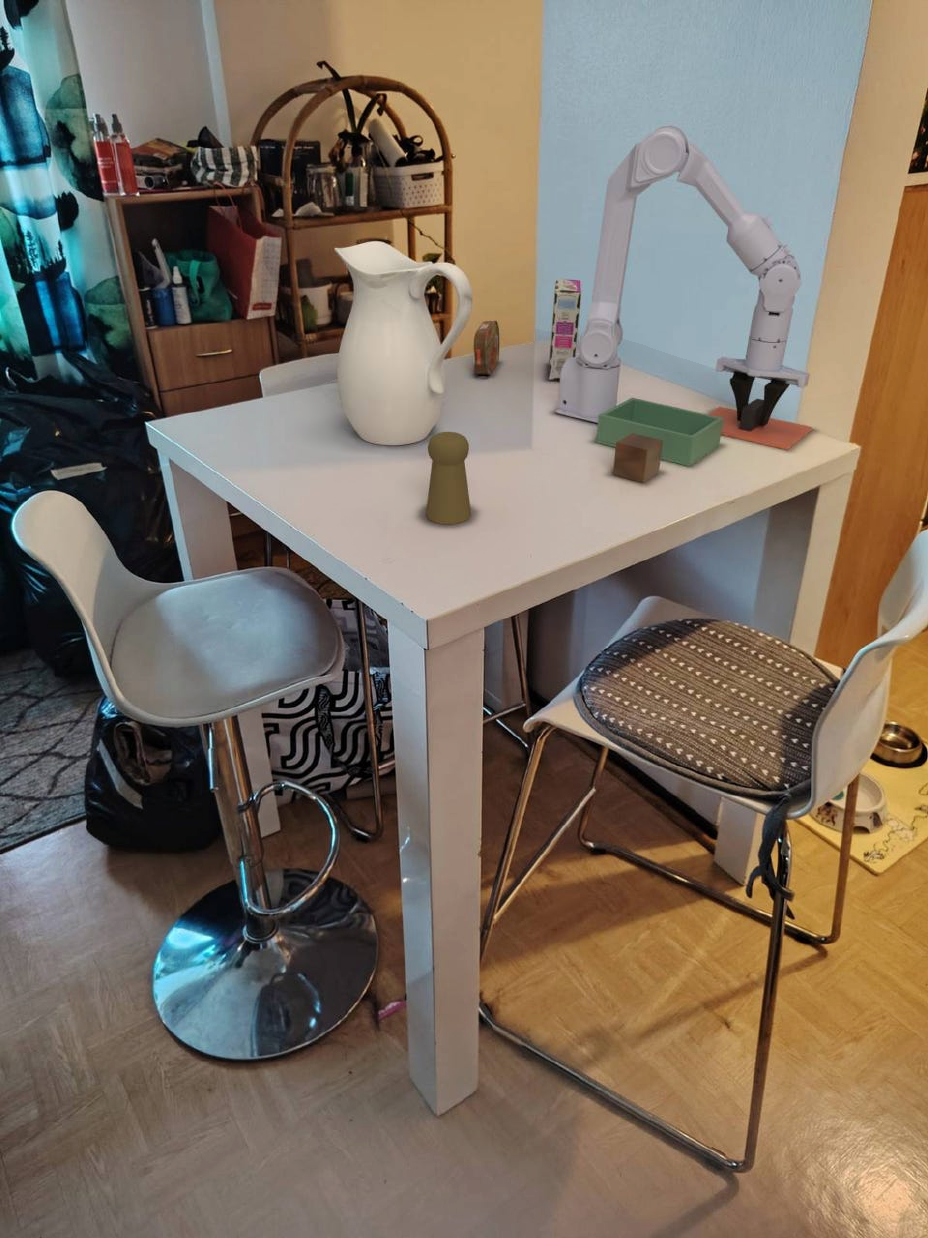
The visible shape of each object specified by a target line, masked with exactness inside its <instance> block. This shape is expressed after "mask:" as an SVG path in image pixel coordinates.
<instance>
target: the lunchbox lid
mask: <svg viewBox="0 0 928 1238" xmlns="http://www.w3.org/2000/svg"><path fill="white" fill-rule="evenodd" d="M763 402H764V399H761V398H756V399H754V400H753V401H751V402H749V403H748V405H746V406H745V407H743V410H742V415H741V421H737V409H731V408H726V407H721V406H718V407H716V408H715V409H713V410H712V411H710V412H709V413H706V414H707V415H712V416H716V417H721V418H724V421H723V427H722V432H721V436H725V437H731V438H735V439H738V440H743V441H746V442H747V441H749V442H751V443H752V442H753V443H756V444H761V445H765V446H769V447H773V448H777V449H781V450H786V451H788V450H790V448H791V447H793V446H794V445H795V444H797V442H799V441H800V440H801V439H802V438H804V437H805V436H806V435H808V434H809V433H810V432H811V431H812V429H813V426H808V425H804V424H800V423H797V422H796V423H794V422H790V421H786V420H782V419H778V418H772V417H770V418H769V421H768V424H766V425H765V426H759V424H760V417H761V413H762V409H763Z"/></svg>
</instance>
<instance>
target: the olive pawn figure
mask: <svg viewBox="0 0 928 1238" xmlns="http://www.w3.org/2000/svg"><path fill="white" fill-rule="evenodd" d="M469 451H470V445H469V441H468V439H467V438H466V437H465V435H463V434H461V433H459V432H455V431H441V432H438V433H435V434H433V435H432V436H431V437H430V439H429V441H428V445H427V453H428V456H429V458H430V460H432V461H431V462H432V463H431V470H430V477H429V486H428V492H427V493H428V495H427V500H426V509H425V517H426V519H427V520H429V521H430V522H432V523H435V524H439V525H458V524H462V523H465V522H466V521H468V520H469V519H471V517H472V510H471V509H472V508H471V503H470V501H471V500H470V494H469V486H468V479H467V478H468V477H467V471H466V463H465V461H466V459H467V458H468V456H469Z"/></svg>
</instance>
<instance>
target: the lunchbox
mask: <svg viewBox="0 0 928 1238" xmlns="http://www.w3.org/2000/svg"><path fill="white" fill-rule="evenodd" d="M707 414H708V413H703V412H698V411H693V410H688V409H685V408H680V407H676V406H671V405H667V404H663V403H658V402H654V401H649V400H645V399H639V398H635V397H631V398H628V399H627V400H625V401H623V402H621V403H619V404H616V406H615V407H613V408H611V409H609V410H608V411H606V412H604V413H602V414H600V415H599V418H598V423H597V428H596V429H597V431H596V439H595V442H596V443H597V444H600V445H605V446H609V447H611V448H612V447H613V448H616V442H618V441H619V440H621V439H623V438H624V437H626V436H628V435H630V434H631V433H635V434H639V435H643V436H647V437H651V438H655V439H659V440H663V446H662V453H661V460H663V461H667V462H670V463H675V464H677V465H678V464H679V465H682V466H687V467H691V466H692V465H694V464H695V463H697V462H698V461H700V460H701V459H702V458H704V457H705V456H706V455H708V454H710V453H711V452H712V451H714V450H715V449H716V448H718V447H719V446H720V444H721V437H722V435H721V432H722V427H723V421H724V418H721V417H716V416H712V415H707Z"/></svg>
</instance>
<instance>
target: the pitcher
mask: <svg viewBox="0 0 928 1238" xmlns="http://www.w3.org/2000/svg"><path fill="white" fill-rule="evenodd" d="M333 249H334V251H335V253H336V254H337V255H338V257H339V258H340V259H341V261H342V262H343V264H344V265H345V267H346V268H347V270H348V272H349V274H350V276H351V279H352V284H353V295H352V296H353V297H352V304H351V307H350V312H349V315H348V319H347V321H346V324H345V328H344V332H343V335H342V338H341V342H340V345H339V352H338V357H337V365H336V366H337V367H336V368H337V369H336V381H337V391H338V396H339V400H340V403H341V407H342V409H343V411H344V413H345V416H346V417H347V419H348V421H349V424H350V425H351V426H352V428H353V430H354V431H355V432H356V434H357V435H358V436H359V437H360V438H361V439H362V440H364V441H365V442H368V443H370V444H374V445H380V446H405V445H409V444H416V443H418V442H421V441H422V440H424V439H426V438H427V437H428V436H429V435H430V433H431V431H432V430H433V428H434V426H435V425H436V423H437V421H438V419H439V416H440V414H441V412H442V410H443V406H444V402H445V398H446V392H447V391H446V390H447V368H446V367H447V366H446V360H445V357H446V356H447V354H448V353H449V352H450V350H451V348H452V347H453V346H454V344H455V343H456V342H457V340H458V338H459V337H460V336H461V334H462V332H463V331H464V329H465V327H466V325H467V323H468V321H469V319H470V317H471V312H472V308H473V291H472V287H471V284H470V281H469V279H468V277H467V275H466V274H465V273H464V271H463V270H462V269H461V268H460V267H458V266H457V265H455V264H453V263H449V262H442V261H441V262H435V263H434V262H432V261H424V262H418V261H415V260H413V259H412V258H410V257H408V256H407V255H405V253H403V252H401V251H399V250H398V249H397V248H395V247H394V246H392V245H390V244H388V243H386V242H384V241H379V240H374V241H366V242H362V243H358V244H355V245H352V246H347V247H334V248H333ZM437 275H440V276H442V277H444V278H446V279H447V280H448V281H450V283H451V284H452V285H453V288H454V289H455V291H456V295H457V309H456V310H457V311H456V314H455V319H454V321H453V324H452V326H451V327H450V329H449V331H448V333H447V334H446V336H445V338H444V340H443V341H442V342H441V341H440V338H439V334H438V332H437V330H436V327H435V323H434V322H433V319H432V316H431V313H430V311H429V308H428V306H427V302H426V298H425V292H426V287H427V285H428V283H429V282H430V281H431V280H432V279H433V278H434V277H436V276H437Z"/></svg>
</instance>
